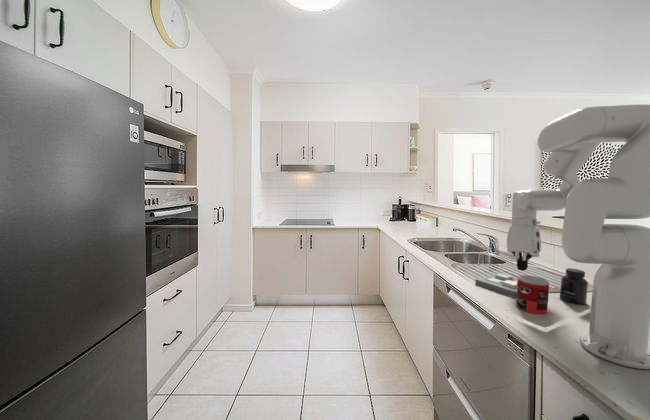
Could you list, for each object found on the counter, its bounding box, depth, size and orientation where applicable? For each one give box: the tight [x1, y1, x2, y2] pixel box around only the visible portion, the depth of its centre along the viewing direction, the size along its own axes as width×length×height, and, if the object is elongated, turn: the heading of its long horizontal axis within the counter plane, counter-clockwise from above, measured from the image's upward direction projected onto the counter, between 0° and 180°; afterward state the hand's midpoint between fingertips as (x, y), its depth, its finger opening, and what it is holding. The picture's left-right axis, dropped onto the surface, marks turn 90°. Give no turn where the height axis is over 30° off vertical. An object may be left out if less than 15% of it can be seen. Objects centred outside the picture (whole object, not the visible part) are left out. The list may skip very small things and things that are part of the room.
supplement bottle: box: [558, 267, 589, 306], centre depth 91 cm, size 7×7×12 cm
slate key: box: [495, 272, 514, 281], centre depth 109 cm, size 4×4×2 cm
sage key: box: [486, 278, 502, 284], centre depth 106 cm, size 4×4×2 cm
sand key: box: [502, 280, 517, 289], centre depth 101 cm, size 4×4×2 cm
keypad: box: [475, 272, 518, 298], centre depth 105 cm, size 17×15×3 cm
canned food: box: [515, 274, 550, 316], centre depth 85 cm, size 8×8×11 cm
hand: (522, 269), depth 102 cm, fingers closed
